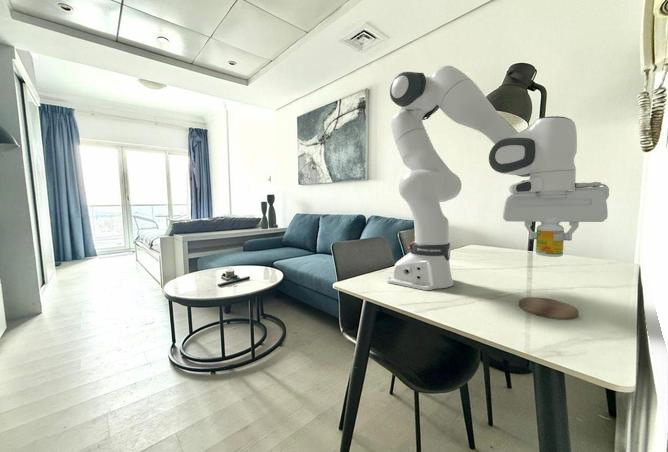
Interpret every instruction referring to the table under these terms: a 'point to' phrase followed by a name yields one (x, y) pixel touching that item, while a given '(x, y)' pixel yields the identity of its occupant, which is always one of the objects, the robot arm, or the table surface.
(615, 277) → the table surface
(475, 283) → the table surface
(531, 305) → the walnut coaster
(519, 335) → the table surface
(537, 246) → the supplement bottle
